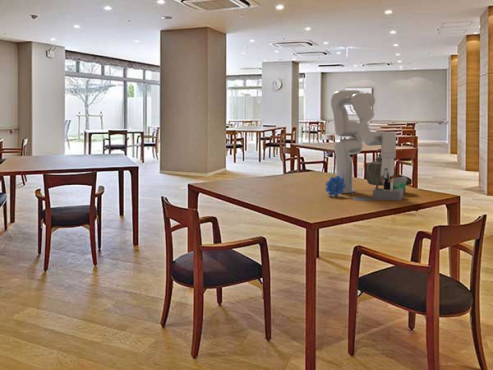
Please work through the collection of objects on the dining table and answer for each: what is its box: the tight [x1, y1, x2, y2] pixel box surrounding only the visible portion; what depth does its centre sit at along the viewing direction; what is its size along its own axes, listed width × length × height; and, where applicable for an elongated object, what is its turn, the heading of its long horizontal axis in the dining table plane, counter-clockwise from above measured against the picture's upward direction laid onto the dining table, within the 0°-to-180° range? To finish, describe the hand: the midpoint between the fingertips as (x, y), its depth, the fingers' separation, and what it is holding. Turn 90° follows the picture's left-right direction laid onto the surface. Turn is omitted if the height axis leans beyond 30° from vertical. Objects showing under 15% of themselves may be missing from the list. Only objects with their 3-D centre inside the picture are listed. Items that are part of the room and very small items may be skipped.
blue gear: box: [325, 176, 346, 197], centre depth 280 cm, size 12×7×12 cm, turn 68°
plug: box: [383, 179, 393, 191], centre depth 264 cm, size 4×4×10 cm
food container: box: [392, 175, 408, 195], centre depth 279 cm, size 12×6×10 cm, turn 130°
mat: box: [351, 196, 374, 202], centre depth 266 cm, size 10×10×1 cm
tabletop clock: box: [366, 148, 394, 190], centre depth 294 cm, size 14×9×25 cm, turn 129°
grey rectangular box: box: [372, 187, 404, 202], centre depth 265 cm, size 14×10×5 cm
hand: (388, 188), depth 264 cm, fingers closed on plug, 4 cm apart
